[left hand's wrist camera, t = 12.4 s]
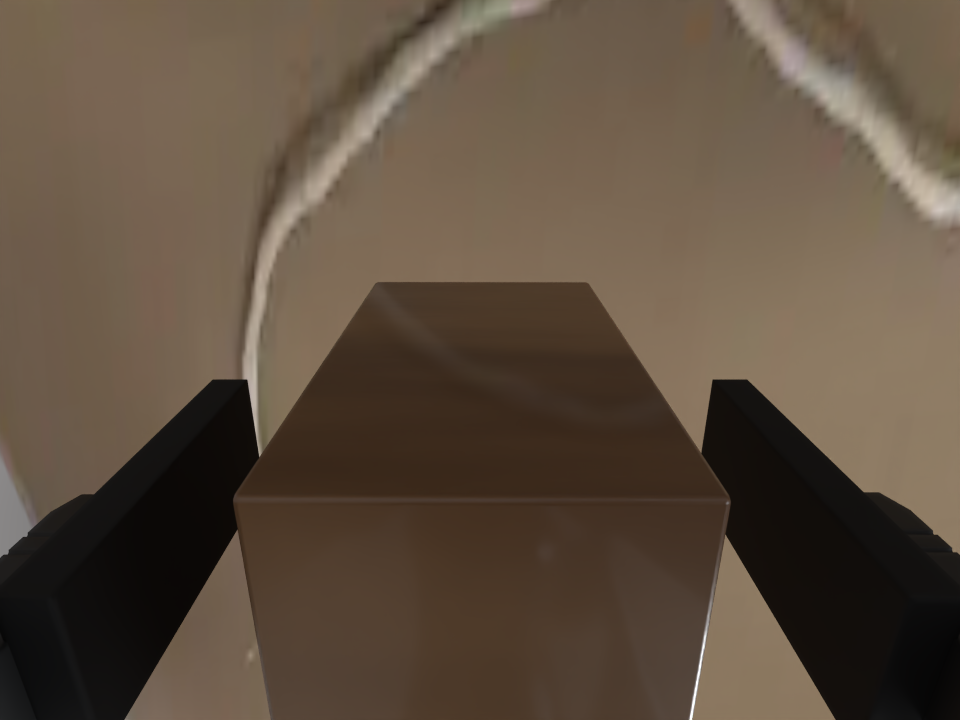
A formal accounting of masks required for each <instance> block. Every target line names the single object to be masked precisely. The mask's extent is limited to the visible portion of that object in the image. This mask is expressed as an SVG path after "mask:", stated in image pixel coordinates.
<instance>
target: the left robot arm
mask: <svg viewBox="0 0 960 720" xmlns="http://www.w3.org/2000/svg"><path fill="white" fill-rule="evenodd" d="M701 454H702V455H703V457H704V458H705V460H706V461H707V463H708V464H709V466H710V467H711V469H712V471H713V472H714V474H715V475H716V477H717V478H718V480H719V481H720V483H721V484H722V486H723V487H724V489H725V490H726V492H727V493H728V495H729V497H730V500H731V505H730V511H729V516H728V522H727V528H726V533H725V534H726V536H727V538H728V539H729V541H730V543H731V544H732V546H733V548H734V549H735V551H736V553H737V554H738V556H739V558H740V560H741V561H742V563H743V565H744V566H745V568H746V570H747V571H748V573H749V575H750V576H751V578H752V580H753V581H754V583H755V585H756V586H757V588H758V590H759V591H760V593H761V595H762V597H763V598H764V600H765V602H766V603H767V605H768V607H769V608H770V610H771V612H772V613H773V615H774V617H775V618H776V620H777V622H778V623H779V625H780V627H781V629H782V630H783V632H784V634H785V635H786V637H787V639H788V640H789V642H790V644H791V645H792V647H793V649H794V650H795V652H796V654H797V655H798V657H799V659H800V660H801V662H802V664H803V666H804V667H805V669H806V671H807V672H808V674H809V676H810V677H811V679H812V681H813V682H814V684H815V686H816V687H817V689H818V691H819V692H820V694H821V696H822V698H823V699H824V701H825V703H826V704H827V706H828V708H829V709H830V711H831V713H832V714H833V716H834V718H835V719H836V720H960V555H959V554H958V553H957V552H952V547H950V546H949V545H948V544H947V543H946V542H945V541H944V540H943V539H942V538H940V537H939V536H938V535H934V534H933V530H932V529H931V528H929V527H928V526H927V525H926V524H925V523H924V522H923V521H922V520H921V519H919V518H918V517H917V516H916V515H915V514H914V513H913V512H912V511H911V510H909V509H907V508H906V507H904V506H902V505H900V504H898V503H897V502H895V501H893V500H891V499H890V498H888V497H886V496H884V495H883V494H881V493H879V492H863V491H862V490H861V489H860V488H859V487H858V486H857V485H856V484H855V483H853V482H852V481H851V480H850V479H849V478H848V477H847V476H846V475H845V474H844V473H843V472H842V471H841V470H840V469H839V468H838V467H837V466H836V465H835V464H834V463H833V462H832V461H831V460H830V459H829V458H828V457H827V456H826V455H825V454H824V453H822V452H821V451H820V450H819V449H818V448H817V447H816V446H815V445H814V444H813V443H812V442H811V441H810V440H809V439H808V438H807V437H806V436H805V435H804V434H803V433H802V432H801V431H800V430H799V429H798V428H797V427H796V426H795V425H794V424H792V423H791V422H790V421H789V420H788V419H787V418H786V417H785V416H784V415H783V414H782V413H781V412H780V411H779V410H778V409H777V408H776V407H775V406H774V405H773V404H772V403H771V402H770V401H769V400H768V399H767V398H766V397H765V396H764V395H763V394H761V393H760V392H759V391H758V390H757V389H756V388H755V387H754V386H753V385H752V384H751V383H750V382H749V381H748V380H713V381H712V387H711V394H710V401H709V407H708V414H707V420H706V427H705V433H704V440H703V446H702V453H701ZM258 459H259V453H258V446H257V440H256V433H255V427H254V420H253V414H252V407H251V401H250V394H249V388H248V381H247V380H212V381H211V382H210V383H209V384H208V385H207V386H206V387H205V388H204V389H203V390H202V391H201V392H200V393H198V394H197V395H196V396H195V397H194V398H193V399H192V400H191V401H190V402H189V403H188V404H187V405H186V406H185V407H184V408H183V409H182V410H181V411H180V412H179V413H178V414H177V415H176V416H175V417H174V418H173V419H172V420H171V421H170V422H169V423H167V424H166V425H165V426H164V427H163V428H162V429H161V430H160V431H159V432H158V433H157V434H156V435H155V436H154V437H153V438H152V439H151V440H150V441H149V442H148V443H147V444H146V445H145V446H144V447H143V448H142V449H141V450H140V451H139V452H138V453H136V454H135V455H134V456H133V457H132V458H131V459H130V460H129V461H128V462H127V463H126V464H125V465H124V466H123V467H122V468H121V469H120V470H119V471H118V472H117V473H116V474H115V475H114V476H113V477H112V478H111V479H110V480H109V481H108V482H107V483H105V484H104V485H103V486H102V487H101V488H100V489H99V490H98V491H97V492H96V493H95V494H82V495H80V496H78V497H76V498H75V499H73V500H71V501H69V502H67V503H66V504H64V505H62V506H60V507H59V508H57V509H55V510H53V511H52V512H50V513H49V514H48V515H47V516H46V517H45V518H43V519H42V520H41V521H40V522H39V523H38V524H37V525H36V526H35V527H34V528H33V529H31V530H30V531H29V532H28V536H27V537H23V538H22V539H20V540H19V541H18V542H17V543H16V544H15V545H14V546H13V547H12V548H11V549H9V553H8V555H3V556H2V557H1V558H0V720H124V719H125V718H126V716H127V714H128V713H129V711H130V709H131V708H132V706H133V704H134V703H135V701H136V699H137V697H138V696H139V694H140V692H141V691H142V689H143V687H144V686H145V684H146V682H147V681H148V679H149V677H150V676H151V674H152V672H153V671H154V669H155V667H156V666H157V664H158V662H159V660H160V659H161V657H162V655H163V654H164V652H165V650H166V649H167V647H168V645H169V644H170V642H171V640H172V639H173V637H174V635H175V634H176V632H177V630H178V629H179V627H180V625H181V623H182V622H183V620H184V618H185V617H186V615H187V613H188V612H189V610H190V608H191V607H192V605H193V603H194V602H195V600H196V598H197V597H198V595H199V593H200V591H201V590H202V588H203V586H204V585H205V583H206V581H207V580H208V578H209V576H210V575H211V573H212V571H213V570H214V568H215V566H216V565H217V563H218V561H219V560H220V558H221V556H222V554H223V553H224V551H225V549H226V548H227V546H228V544H229V543H230V541H231V539H232V538H233V536H234V534H235V533H236V531H237V529H238V528H237V522H236V516H235V511H234V505H233V498H234V495H235V493H236V492H237V490H238V489H239V487H240V486H241V484H242V483H243V481H244V480H245V478H246V477H247V475H248V474H249V472H250V471H251V469H252V468H253V466H254V465H255V463H256V462H257V460H258Z"/></svg>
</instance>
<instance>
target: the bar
mask: <svg viewBox="0 0 960 720" xmlns="http://www.w3.org/2000/svg"><path fill="white" fill-rule="evenodd" d="M233 505H234V511H235V516H236V522H237V528H238V534H239V539H240V545H241V551H242V556H243V562H244V568H245V574H246V579H247V585H248V591H249V596H250V602H251V608H252V614H253V619H254V625H255V631H256V636H257V642H258V648H259V654H260V659H261V665H262V671H263V677H264V682H265V688H266V694H267V699H268V705H269V711H270V717H271V720H692V718H693V712H694V707H695V701H696V696H697V690H698V684H699V679H700V673H701V668H702V662H703V656H704V651H705V645H706V640H707V634H708V628H709V623H710V617H711V612H712V606H713V600H714V595H715V589H716V584H717V578H718V572H719V567H720V561H721V556H722V550H723V544H724V539H725V533H726V528H727V522H728V516H729V511H730V505H731V500H730V497H729V495H728V493H727V492H726V490H725V489H724V487H723V486H722V484H721V483H720V481H719V480H718V478H717V477H716V475H715V474H714V472H713V471H712V469H711V467H710V466H709V464H708V463H707V461H706V460H705V458H704V457H703V455H702V454H701V452H700V451H699V449H698V448H697V446H696V445H695V443H694V442H693V440H692V439H691V437H690V436H689V434H688V433H687V431H686V430H685V428H684V427H683V425H682V424H681V422H680V421H679V419H678V418H677V416H676V415H675V413H674V412H673V410H672V409H671V407H670V406H669V404H668V403H667V401H666V400H665V398H664V397H663V395H662V394H661V392H660V391H659V389H658V388H657V386H656V385H655V383H654V382H653V380H652V379H651V377H650V376H649V374H648V373H647V371H646V369H645V368H644V366H643V365H642V363H641V362H640V360H639V359H638V357H637V356H636V354H635V353H634V351H633V350H632V348H631V347H630V345H629V344H628V342H627V341H626V339H625V338H624V336H623V335H622V333H621V332H620V330H619V329H618V327H617V326H616V324H615V323H614V321H613V320H612V318H611V317H610V315H609V314H608V312H607V311H606V309H605V308H604V306H603V305H602V303H601V302H600V300H599V299H598V297H597V296H596V294H595V293H594V291H593V290H592V288H591V287H590V285H589V284H588V283H561V282H378V283H376V284H375V285H374V287H373V288H372V290H371V291H370V293H369V294H368V296H367V297H366V299H365V300H364V302H363V303H362V305H361V306H360V308H359V309H358V311H357V312H356V314H355V315H354V317H353V318H352V320H351V321H350V323H349V324H348V326H347V327H346V329H345V330H344V332H343V333H342V335H341V336H340V338H339V339H338V341H337V342H336V343H335V345H334V346H333V348H332V349H331V351H330V352H329V354H328V355H327V357H326V358H325V360H324V361H323V363H322V364H321V366H320V367H319V369H318V370H317V372H316V373H315V375H314V376H313V378H312V379H311V381H310V382H309V384H308V385H307V387H306V388H305V390H304V391H303V393H302V394H301V396H300V397H299V399H298V400H297V402H296V403H295V405H294V406H293V408H292V409H291V411H290V412H289V414H288V415H287V417H286V418H285V420H284V421H283V423H282V424H281V426H280V427H279V429H278V430H277V432H276V433H275V435H274V436H273V438H272V439H271V441H270V442H269V444H268V445H267V447H266V448H265V450H264V451H263V453H262V454H261V456H260V457H259V459H258V460H257V462H256V463H255V465H254V466H253V468H252V469H251V471H250V472H249V474H248V475H247V477H246V478H245V480H244V481H243V483H242V484H241V486H240V487H239V489H238V490H237V492H236V493H235V495H234V498H233Z"/></svg>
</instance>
